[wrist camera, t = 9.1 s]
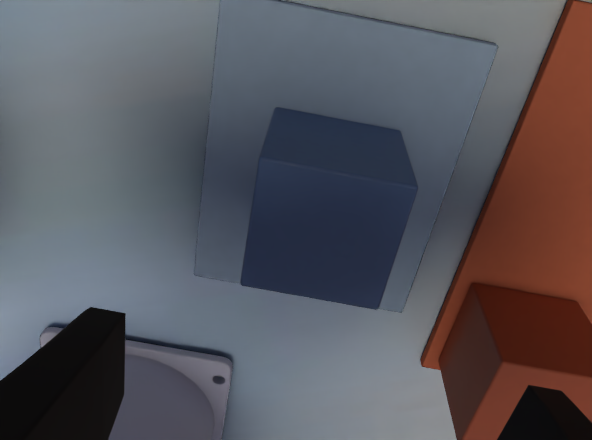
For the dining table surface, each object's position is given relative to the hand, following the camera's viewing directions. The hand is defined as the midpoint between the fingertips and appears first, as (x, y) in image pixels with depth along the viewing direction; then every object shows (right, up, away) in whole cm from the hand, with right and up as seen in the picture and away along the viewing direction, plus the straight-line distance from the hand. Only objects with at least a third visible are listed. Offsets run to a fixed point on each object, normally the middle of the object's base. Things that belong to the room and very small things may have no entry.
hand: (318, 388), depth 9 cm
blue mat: (+1, +5, +8) cm, 9 cm away
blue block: (+1, +5, +8) cm, 9 cm away
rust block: (+8, -1, +11) cm, 13 cm away
